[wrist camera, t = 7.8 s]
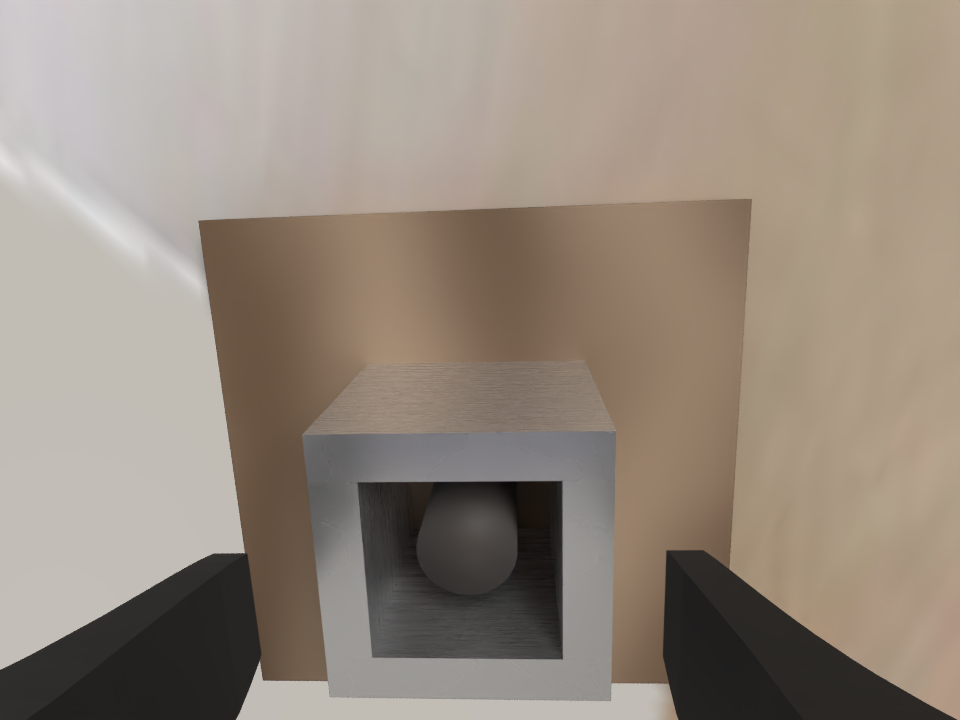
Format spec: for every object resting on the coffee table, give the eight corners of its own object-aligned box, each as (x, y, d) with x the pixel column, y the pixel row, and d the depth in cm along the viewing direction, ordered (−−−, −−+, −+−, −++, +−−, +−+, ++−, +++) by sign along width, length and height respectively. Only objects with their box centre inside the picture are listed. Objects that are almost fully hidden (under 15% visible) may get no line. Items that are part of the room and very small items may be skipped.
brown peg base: (277, 651, 19) (194, 808, 14) (220, 219, 16) (90, 226, 11) (709, 654, 19) (780, 820, 14) (734, 199, 16) (839, 197, 11)
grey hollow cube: (382, 557, 17) (330, 697, 12) (367, 364, 16) (302, 434, 11) (583, 557, 17) (610, 701, 12) (584, 360, 16) (616, 431, 11)
